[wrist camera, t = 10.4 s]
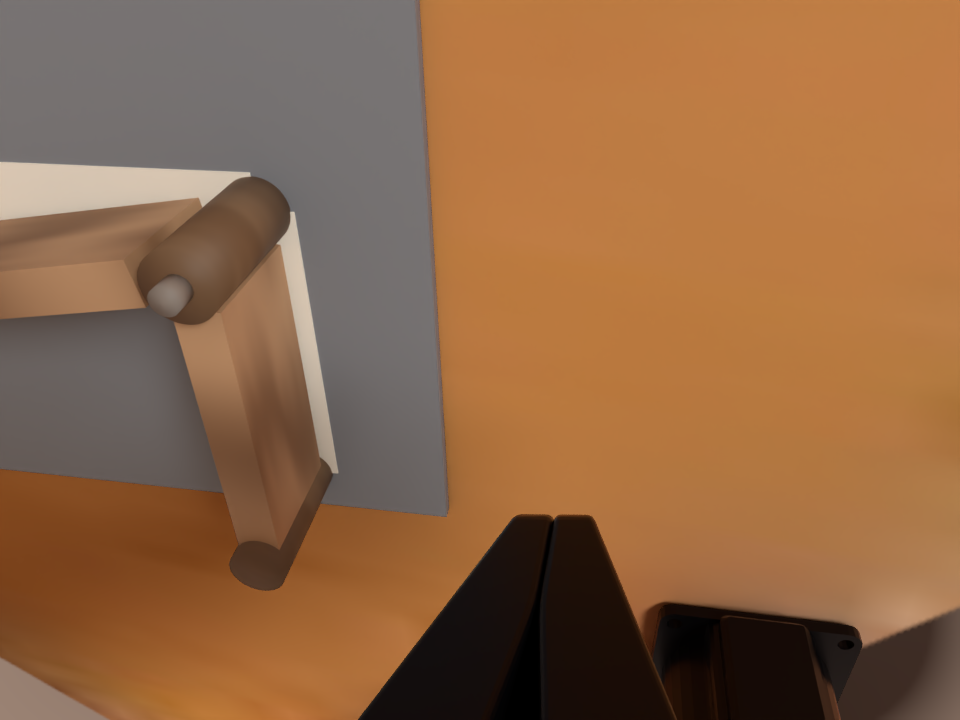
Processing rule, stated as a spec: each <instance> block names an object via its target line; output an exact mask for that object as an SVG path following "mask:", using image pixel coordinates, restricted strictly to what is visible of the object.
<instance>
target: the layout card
mask: <svg viewBox="0 0 960 720" xmlns="http://www.w3.org/2000/svg"><path fill="white" fill-rule="evenodd" d="M251 176H253V177H258V178H262V179H264V180H266V181H268V182H270V183H272V184H273V185H274V186H276V187H277V188H278V189H279V190H280V191H281V193H282V194H283V195H284V197H285V198H286V200H287V202H288V204H289V207H290V211H291V212H290V216H291V218H290V225H289V228H288V230H287V232H286V233H285V235H284V236H283V237H282V238H281V239H280V240H279V241H278V242H277V244H279V245H281V251H282V256H283V261H284V267H285V272H286V278H287V283H288V289H289V294H290V299H291V305H292V310H293V316H294V321H295V326H296V332H297V337H298V343H299V348H300V354H301V359H302V364H303V370H304V375H305V381H306V386H307V391H308V397H309V402H310V408H311V413H312V419H313V424H314V429H315V435H316V440H317V446H318V451H319V457H320V458H322V459H323V460H324V461H325V462H326V463H327V464H328V465H329V467H330V468H331V471H332V473H333V476H332V480H331V482H330V484H329V486H328V488H327V490H326V492H325V495H324V497H323V499H322V501H321V504H331V505H340V506H349V507H358V508H368V509H377V510H386V511H395V512H405V513H414V514H423V515H433V516H442V517H447V514H448V510H449V500H448V483H447V466H446V449H445V432H444V415H443V398H442V381H441V363H440V346H439V329H438V312H437V295H436V278H435V261H434V244H433V227H432V210H431V193H430V176H429V158H428V141H427V124H426V107H425V90H424V73H423V56H422V39H421V22H420V5H419V0H0V220H7V219H16V218H25V217H33V216H42V215H51V214H60V213H68V212H77V211H86V210H94V209H103V208H112V207H121V206H129V205H138V204H147V203H156V202H164V201H173V200H182V199H190V198H199V200H200V202H201V205H202V207H204V206H205V205H206V204H207V203H208V202H210V201H211V200H212V199H213V198H214V197H215V196H217V195H218V194H219V193H220V192H221V191H222V190H224V189H225V188H226V187H227V186H228V185H229V184H231V183H232V182H233V181H235V180H237V179H239V178H242V177H251ZM0 469H6V470H15V471H24V472H34V473H43V474H52V475H62V476H71V477H80V478H89V479H99V480H108V481H117V482H126V483H136V484H145V485H154V486H164V487H173V488H182V489H191V490H201V491H210V492H219V493H224V492H223V489H222V486H221V482H220V479H219V475H218V472H217V468H216V465H215V461H214V458H213V455H212V451H211V448H210V444H209V441H208V437H207V434H206V430H205V427H204V424H203V420H202V417H201V413H200V410H199V406H198V403H197V399H196V396H195V393H194V389H193V386H192V382H191V379H190V375H189V372H188V369H187V365H186V362H185V358H184V355H183V351H182V348H181V344H180V341H179V338H178V334H177V331H176V327H175V324H174V321H171V320H169V319H167V318H165V317H164V316H161V315H159V314H157V313H156V312H155V311H154V310H153V309H152V308H151V307H150V305H148V306H147V307H146V308H137V309H124V310H111V311H98V312H85V313H73V314H60V315H47V316H34V317H22V318H9V319H0Z"/></svg>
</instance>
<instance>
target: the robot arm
mask: <svg viewBox="0 0 960 720" xmlns="http://www.w3.org/2000/svg"><path fill="white" fill-rule="evenodd" d="M861 648H862V640H861V637H860V633H859V631H858V630H857V629H856V628H854V627H853V626H849V625H842V624H834V623H826V622H817V621H809V620H800V619H792V618H784V617H775V616H767V615H759V614H750V613H742V612H734V611H725V610H717V609H708V608H700V607H692V606H683V605H667V606H664V607H663V608H661V609H660V611H659V615H658V621H657V626H656V632H655V637H654V642H653V648H652V653H651V655H650V653H649V650H648V648H647V646H646V643H645V641H644V638H643V636H642V633H641V631H640V629H639V626H638V624H637V621H636V619H635V617H634V614H633V612H632V609H631V607H630V604H629V602H628V600H627V597H626V595H625V592H624V590H623V587H622V585H621V583H620V580H619V578H618V575H617V573H616V570H615V568H614V566H613V563H612V561H611V558H610V556H609V554H608V551H607V549H606V546H605V544H604V541H603V539H602V537H601V534H600V532H599V529H598V527H597V524H596V522H595V520H594V519H593V517H592V516H590V515H558V516H557V517H556V518H555V519H553V518H552V517H551V516H549V515H533V514H521V515H517V516H515V517H514V518H513V519H512V520H511V521H510V523H509V524H508V525H507V526H506V528H505V529H504V530H503V532H502V533H501V534H500V536H499V537H498V538H497V539H496V541H495V542H494V543H493V545H492V546H491V547H490V549H489V550H488V551H487V552H486V554H485V555H484V556H483V558H482V559H481V560H480V562H479V563H478V564H477V565H476V567H475V568H474V569H473V571H472V572H471V573H470V575H469V576H468V577H467V578H466V580H465V581H464V582H463V584H462V585H461V586H460V588H459V589H458V590H457V591H456V593H455V594H454V595H453V597H452V598H451V599H450V601H449V602H448V603H447V604H446V606H445V607H444V608H443V610H442V611H441V612H440V614H439V615H438V616H437V617H436V619H435V620H434V621H433V623H432V624H431V625H430V627H429V628H428V629H427V630H426V632H425V633H424V634H423V636H422V637H421V638H420V640H419V641H418V642H417V643H416V645H415V646H414V647H413V649H412V650H411V651H410V653H409V654H408V655H407V656H406V658H405V659H404V660H403V662H402V663H401V664H400V666H399V667H398V668H397V669H396V671H395V672H394V673H393V675H392V676H391V677H390V679H389V680H388V681H387V682H386V684H385V685H384V686H383V688H382V689H381V690H380V692H379V693H378V694H377V695H376V697H375V698H374V699H373V701H372V702H371V703H370V705H369V706H368V707H367V709H366V710H365V711H364V712H363V714H362V715H361V716H360V718H359V719H358V720H841V718H840V715H839V710H838V706H837V703H838V700H839V698H840V696H841V694H842V691H843V689H844V687H845V685H846V682H847V680H848V678H849V675H850V673H851V671H852V668H853V666H854V664H855V662H856V660H857V657H858V655H859V653H860V650H861Z"/></svg>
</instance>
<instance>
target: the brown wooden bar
mask: <svg viewBox="0 0 960 720" xmlns="http://www.w3.org/2000/svg"><path fill="white" fill-rule="evenodd" d="M201 208H203V207H202V205H201V202H200V200H199V198H190V199H182V200H173V201H164V202H156V203H147V204H138V205H129V206H121V207H112V208H103V209H94V210H86V211H77V212H68V213H60V214H51V215H42V216H33V217H25V218H16V219H7V220H0V319H9V318H22V317H34V316H47V315H60V314H73V313H85V312H98V311H111V310H124V309H137V308H146V307H147V306H148V305H149V303H148V302H147V301H146V299H145V298H144V296H143V295H142V293H141V291H140V288H139V285H138V281H137V271H138V267H139V264H140V262H141V261H142V259H143V258H144V257H145V256H146V255H148V254H149V253H150V252H151V251H152V250H153V249H155V248H156V247H157V246H158V245H159V244H160V243H162V242H163V241H164V240H165V239H166V238H167V237H169V236H170V235H171V234H172V233H173V232H174V231H176V230H177V229H178V228H179V227H180V226H181V225H183V224H184V223H185V222H186V221H187V220H188V219H190V218H191V217H192V216H193V215H194V214H195V213H197V212H198V211H199V210H200V209H201Z"/></svg>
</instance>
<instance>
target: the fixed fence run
mask: <svg viewBox="0 0 960 720" xmlns="http://www.w3.org/2000/svg"><path fill="white" fill-rule="evenodd" d="M290 212H291V211H290V207H289V204H288V202H287V200H286V198H285V197H284V195H283V194H282V193H281V191H280V190H279V189H278V188H277V187H276V186H274V185H273V184H272V183H270V182H268V181H266V180H264V179H262V178H258V177H253V176H251V177H242V178H239V179H237V180H235V181H233V182H232V183H231V184H229V185H228V186H227V187H226V188H225V189H224V190H222V191H221V192H220V193H219V194H218V195H217V196H215V197H214V198H213V199H212V200H211V201H210V202H208V203H207V204H206V205H205V206H204V207H203V208H201V209H200V210H199V211H198V212H197V213H195V214H194V215H193V216H192V217H191V218H190V219H188V220H187V221H186V222H185V223H184V224H183V225H181V226H180V227H179V228H178V229H177V230H176V231H174V232H173V233H172V234H171V235H170V236H169V237H167V238H166V239H165V240H164V241H163V242H162V243H160V244H159V245H158V246H157V247H156V248H155V249H153V250H152V251H151V252H150V253H149V254H148V255H146V256H145V257H144V258H143V259H142V261H141V262H140V264H139V267H138V271H137V281H138V285H139V288H140V291H141V293H142V295H143V296H144V298H145V299H146V301H147V302H148V303H149V305H150V307H151V308H152V309H153V310H154V311H155V312H156V313H157V314H159V315H161V316H164V317H165V318H167V319H169V320H171V321H174V324H175V327H176V331H177V334H178V338H179V341H180V344H181V348H182V351H183V355H184V358H185V362H186V365H187V369H188V372H189V375H190V379H191V382H192V386H193V389H194V393H195V396H196V399H197V403H198V406H199V410H200V413H201V417H202V420H203V424H204V427H205V430H206V434H207V437H208V441H209V444H210V448H211V451H212V455H213V458H214V461H215V465H216V468H217V472H218V475H219V479H220V482H221V486H222V489H223V492H224V496H225V499H226V503H227V506H228V510H229V513H230V516H231V520H232V523H233V527H234V530H235V534H236V537H237V541H238V544H239V545H238V547H237V549H236V550H235V552H234V554H233V556H232V557H231V559H230V563H229V566H230V570H231V572H232V573H233V575H234V576H235V577H236V578H237V579H238V580H239V581H240V582H242V583H243V584H245V585H247V586H249V587H251V588H254V589H258V590H265V591H269V590H275V589H277V588H279V587H280V586H281V585H282V584H283V582H284V580H285V578H286V576H287V574H288V572H289V570H290V567H291V565H292V563H293V561H294V559H295V557H296V555H297V552H298V550H299V548H300V546H301V544H302V542H303V540H304V537H305V535H306V533H307V531H308V529H309V527H310V525H311V522H312V520H313V518H314V516H315V514H316V512H317V510H318V507H319V505H320V503H321V501H322V499H323V497H324V495H325V492H326V490H327V488H328V486H329V484H330V482H331V480H332V476H333V473H332V471H331V468H330V467H329V465H328V464H327V463H326V462H325V461H324V460H323V459H322V458H320V457H319V451H318V446H317V440H316V435H315V429H314V424H313V419H312V413H311V408H310V402H309V397H308V391H307V386H306V381H305V375H304V370H303V364H302V359H301V354H300V348H299V343H298V337H297V332H296V326H295V321H294V316H293V310H292V305H291V299H290V294H289V289H288V283H287V278H286V272H285V267H284V261H283V256H282V251H281V245H279V244H277V242H278V241H279V240H280V239H281V238H282V237H283V236H284V235H285V233H286V232H287V230H288V228H289V225H290V218H291V216H290Z"/></svg>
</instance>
